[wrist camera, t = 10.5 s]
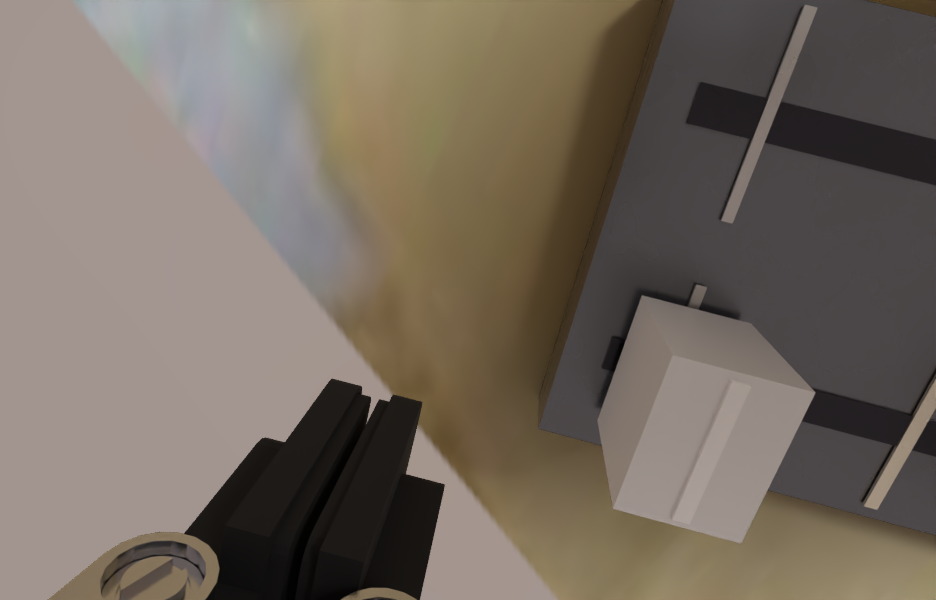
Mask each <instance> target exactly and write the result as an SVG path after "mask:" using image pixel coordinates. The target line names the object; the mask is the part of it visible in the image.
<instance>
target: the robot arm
mask: <svg viewBox="0 0 936 600" xmlns="http://www.w3.org/2000/svg"><path fill="white" fill-rule="evenodd" d="M361 394H362V387H361V386H358V385H355V384H351V383H347V382H343V381H339V380H335V379H331V380H330V381H329V382H328V384H327V385H326V387H325V388H324V389H323V391H322V392H321V393H320V395H319V396H318V397H317V399H316V400H315V402H314V403H313V404H312V406H311V407H310V409H309V410H308V411H307V413H306V414H305V416H304V417H303V418H302V420H301V421H300V422H299V424H298V425H297V426H296V428H295V429H294V431H293V432H292V433H291V435H290V436H289V437H288V439H287V440H286V442H281V441H277V440H273V439H269V438H262V439H261V440H260V441H259V442H258V443H257V444H256V445H255V447H254V448H253V449H252V450H251V452H250V453H249V454H248V455H247V456H246V458H245V459H244V460H243V461H242V463H241V464H240V465H239V466H238V468H237V469H236V470H235V471H234V473H233V474H232V475H231V476H230V478H229V479H228V480H227V481H226V482H225V484H224V485H223V486H222V487H221V489H220V490H219V491H218V492H217V494H216V495H215V496H214V497H213V499H212V500H211V501H210V502H209V504H208V505H207V506H206V507H205V508H204V510H203V511H202V512H201V513H200V515H199V516H198V517H197V518H196V520H195V521H194V522H193V523H192V525H191V526H190V527H189V528H188V530H187V531H186V532H185V533H184V534H182V533H177V532H157V533H151V534H145V535H140V536H137V537H135V538H132V539H129V540H127V541H124V542H122V543H120V544H118V545H117V546H115V547H113V548H112V549H110V550H109V551H107V552H106V553H104V554H103V555H102V556H101V557H99V558H98V559H97V560H96V561H94V562H93V563H92V564H91V565H90V566H88V567H87V568H86V569H85V570H83V571H82V572H81V573H80V574H79V575H77V576H76V577H75V578H74V579H72V580H71V581H70V582H69V583H68V584H66V585H65V586H64V587H63V588H61V590H59V591H58V592H57V593H55V594H54V595H53V596H52V597H51V598H49V599H48V600H420V596H421V592H422V587H423V582H424V578H425V573H426V569H427V564H428V560H429V555H430V550H431V546H432V541H433V536H434V532H435V528H436V523H437V519H438V514H439V509H440V505H441V500H442V496H443V491H444V486H445V485H444V484H441V483H437V482H433V481H430V480H425V479H422V478H418V477H414V476H411V475H406V471H407V466H408V462H409V458H410V454H411V449H412V445H413V441H414V437H415V433H416V429H417V425H418V420H419V416H420V412H421V407H422V402H420V401H416V400H412V399H409V398H405V397H401V396H397V395H393V396H392V397H391V399H390V402H388V401H384V400H379V401H378V403H377V405H376V407H375V409H374V411H373V413H372V414H371V417H370V418H369V421H368V422H367V417H368V413H369V408H370V403H371V397H369V396H365V395H361ZM366 422H367V424H366Z"/></svg>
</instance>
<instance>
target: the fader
mask: <svg viewBox="0 0 936 600" xmlns="http://www.w3.org/2000/svg"><path fill="white" fill-rule="evenodd" d="M815 393H816V392H815V391H814V390H813V389H812V388H811V387H810V386H809V385H808V384H807V383H806V382H805V381H804V380H803V379H802V377H801V376H800V375H799V374H798V373H797V372H796V371H795V370H794V369H793V368H792V367H791V366H790V365H789V364H788V363H787V361H786V360H785V359H784V358H783V357H782V356H781V355H780V354H779V353H778V352H777V351H776V350H775V349H774V348H773V347H772V345H771V344H770V343H769V342H768V341H767V340H766V339H765V338H764V337H763V336H762V335H761V334H760V333H759V332H758V330H757V329H756V328H755V327H754V326H753V325H752V324H751V323H747V322H743V321H739V320H736V319H732V318H728V317H724V316H720V315H716V314H712V313H709V312H705V311H701V310H697V309H693V308H689V307H685V306H682V305H678V304H674V303H670V302H666V301H662V300H658V299H655V298H651V297H647V296H643V295H642V296H641V299H640V302H639V305H638V308H637V310H636V313H635V316H634V319H633V322H632V324H631V327H630V330H629V333H628V336H627V339H626V341H625V344H624V347H623V350H622V353H621V355H620V358H619V361H618V364H617V367H616V369H615V372H614V375H613V378H612V381H611V383H610V386H609V389H608V392H607V395H606V397H605V400H604V403H603V406H602V409H601V412H600V414H599V417H598V420H597V421H598V427H599V433H600V438H601V444H602V450H603V455H604V461H605V467H606V472H607V478H608V484H609V489H610V495H611V501H612V506H613V509H615V510H619V511H623V512H626V513H630V514H634V515H637V516H641V517H645V518H648V519H652V520H656V521H659V522H663V523H667V524H670V525H674V526H678V527H681V528H685V529H689V530H693V531H696V532H700V533H704V534H707V535H711V536H715V537H718V538H722V539H726V540H729V541H733V542H737V543H740V544H741V543H742V541H743V539H744V537H745V535H746V533H747V531H748V529H749V527H750V525H751V523H752V521H753V519H754V517H755V515H756V513H757V511H758V509H759V507H760V505H761V502H762V500H763V498H764V496H765V494H766V492H767V490H768V488H769V486H770V484H771V482H772V480H773V478H774V476H775V474H776V472H777V470H778V468H779V466H780V464H781V462H782V460H783V458H784V456H785V454H786V452H787V450H788V448H789V446H790V444H791V442H792V440H793V438H794V435H795V433H796V431H797V429H798V427H799V425H800V423H801V421H802V419H803V417H804V415H805V413H806V411H807V409H808V407H809V405H810V403H811V401H812V399H813V397H814V395H815Z"/></svg>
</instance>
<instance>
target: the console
mask: <svg viewBox="0 0 936 600" xmlns="http://www.w3.org/2000/svg"><path fill="white" fill-rule="evenodd" d="M642 295H643V296H647V297H651V298H655V299H658V300H662V301H666V302H670V303H674V304H678V305H682V306H685V307H689V308H693V309H697V310H701V311H705V312H709V313H712V314H716V315H720V316H724V317H728V318H732V319H736V320H739V321H743V322H747V323H751V324H752V325H753V326H754V327H755V328H756V329H757V330H758V332H759V333H760V334H761V335H762V336H763V337H764V338H765V339H766V340H767V341H768V342H769V343H770V344H771V345H772V347H773V348H774V349H775V350H776V351H777V352H778V353H779V354H780V355H781V356H782V357H783V358H784V359H785V360H786V361H787V363H788V364H789V365H790V366H791V367H792V368H793V369H794V370H795V371H796V372H797V373H798V374H799V375H800V376H801V377H802V379H803V380H804V381H805V382H806V383H807V384H808V385H809V386H810V387H811V388H812V389H813V390H814V391H815V392H816V393H815V395H814V397H813V399H812V401H811V403H810V405H809V407H808V409H807V411H806V413H805V415H804V417H803V419H802V421H801V423H800V425H799V427H798V429H797V431H796V433H795V435H794V438H793V440H792V442H791V444H790V446H789V448H788V450H787V452H786V454H785V456H784V458H783V460H782V462H781V464H780V466H779V468H778V470H777V472H776V474H775V476H774V478H773V480H772V482H771V484H770V486H769V488H768V490H769V491H773V492H776V493H780V494H784V495H787V496H791V497H795V498H799V499H802V500H806V501H810V502H814V503H817V504H821V505H825V506H829V507H832V508H836V509H840V510H843V511H847V512H851V513H855V514H858V515H862V516H866V517H870V518H873V519H877V520H881V521H884V522H888V523H892V524H896V525H899V526H903V527H907V528H911V529H914V530H918V531H922V532H925V533H929V534H933V535H936V17H933V16H929V15H925V14H920V13H916V12H912V11H908V10H904V9H900V8H895V7H891V6H887V5H883V4H879V3H875V2H870V1H866V0H663V1H662V5H661V8H660V11H659V14H658V17H657V21H656V24H655V27H654V30H653V33H652V37H651V40H650V43H649V46H648V49H647V53H646V56H645V59H644V62H643V65H642V69H641V72H640V75H639V78H638V81H637V85H636V88H635V91H634V94H633V97H632V101H631V104H630V107H629V110H628V113H627V117H626V120H625V123H624V126H623V129H622V133H621V136H620V139H619V142H618V145H617V149H616V152H615V155H614V158H613V161H612V165H611V168H610V171H609V174H608V177H607V181H606V184H605V187H604V190H603V193H602V197H601V200H600V203H599V206H598V209H597V213H596V216H595V219H594V222H593V226H592V229H591V232H590V235H589V238H588V242H587V245H586V248H585V251H584V254H583V258H582V261H581V264H580V267H579V270H578V274H577V277H576V280H575V283H574V286H573V290H572V293H571V296H570V299H569V302H568V306H567V309H566V312H565V315H564V318H563V322H562V325H561V328H560V331H559V334H558V338H557V341H556V344H555V347H554V350H553V354H552V357H551V360H550V363H549V366H548V370H547V373H546V376H545V379H544V382H543V386H542V389H541V392H540V395H539V426H538V429H541V430H545V431H549V432H553V433H556V434H560V435H564V436H568V437H571V438H575V439H579V440H582V441H586V442H590V443H594V444H597V445H601V446H602V444H601V438H600V433H599V427H598V421H597V420H598V417H599V414H600V412H601V409H602V406H603V403H604V400H605V397H606V395H607V392H608V389H609V386H610V383H611V381H612V378H613V375H614V372H615V369H616V367H617V364H618V361H619V358H620V355H621V353H622V350H623V347H624V344H625V341H626V339H627V336H628V333H629V330H630V327H631V324H632V322H633V319H634V316H635V313H636V310H637V308H638V305H639V302H640V299H641V296H642Z"/></svg>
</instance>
